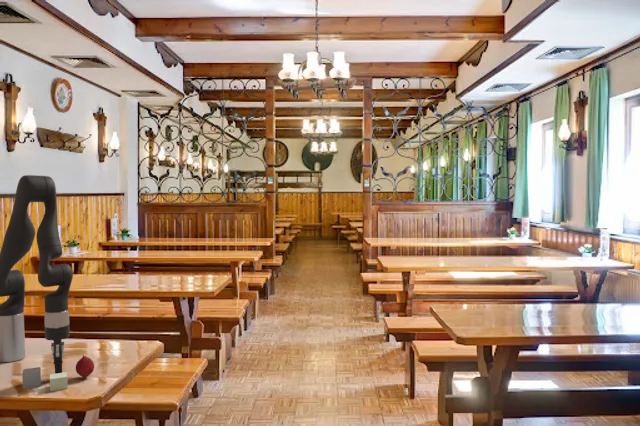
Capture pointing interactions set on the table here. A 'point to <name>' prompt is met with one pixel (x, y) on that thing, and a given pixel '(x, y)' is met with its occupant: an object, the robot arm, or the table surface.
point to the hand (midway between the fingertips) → (58, 374)
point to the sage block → (58, 381)
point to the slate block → (31, 377)
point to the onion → (84, 366)
